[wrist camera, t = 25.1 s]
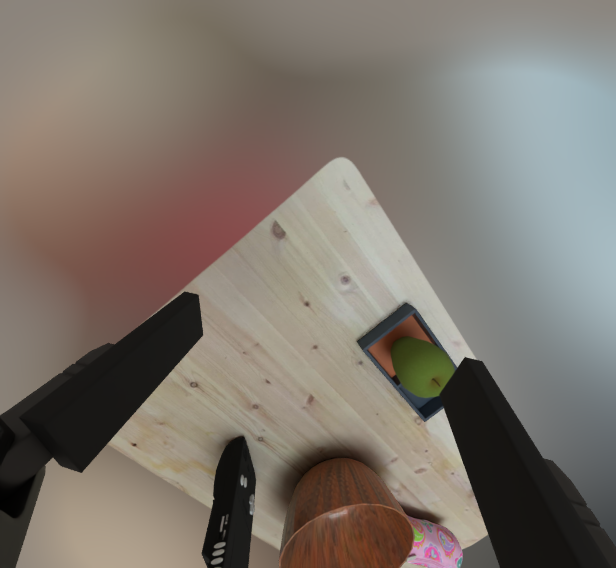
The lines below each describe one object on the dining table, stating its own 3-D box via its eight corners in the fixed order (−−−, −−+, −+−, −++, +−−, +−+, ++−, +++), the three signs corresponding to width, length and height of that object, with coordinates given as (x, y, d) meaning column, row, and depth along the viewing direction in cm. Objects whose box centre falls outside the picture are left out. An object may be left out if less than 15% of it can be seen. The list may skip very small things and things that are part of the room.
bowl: (357, 528, 57) (377, 602, 46) (262, 515, 51) (257, 595, 40) (405, 452, 52) (439, 514, 41) (304, 429, 46) (313, 493, 36)
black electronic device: (258, 477, 48) (245, 645, 29) (236, 482, 48) (209, 656, 29) (246, 433, 45) (223, 590, 26) (223, 439, 45) (181, 602, 25)
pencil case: (363, 519, 56) (379, 574, 47) (385, 494, 55) (406, 545, 46) (424, 539, 61) (448, 591, 53) (446, 516, 60) (474, 566, 51)
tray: (356, 341, 43) (362, 349, 40) (406, 302, 42) (415, 308, 39) (416, 411, 49) (424, 422, 46) (460, 378, 48) (471, 387, 46)
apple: (428, 340, 44) (479, 379, 33) (399, 371, 45) (439, 419, 34) (399, 315, 42) (442, 349, 31) (368, 349, 43) (400, 393, 32)
